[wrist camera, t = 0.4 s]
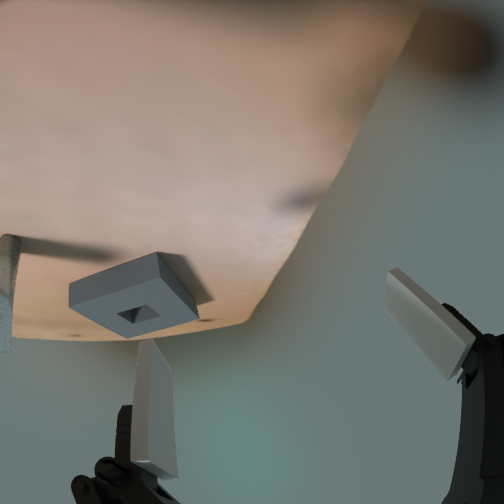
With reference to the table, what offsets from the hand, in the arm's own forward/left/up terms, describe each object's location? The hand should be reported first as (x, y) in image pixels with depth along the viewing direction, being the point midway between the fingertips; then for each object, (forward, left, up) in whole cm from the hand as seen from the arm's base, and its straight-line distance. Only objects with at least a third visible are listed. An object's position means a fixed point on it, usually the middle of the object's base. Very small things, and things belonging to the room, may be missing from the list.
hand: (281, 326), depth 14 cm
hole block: (+19, -17, -16) cm, 30 cm away
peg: (0, -25, -16) cm, 30 cm away
